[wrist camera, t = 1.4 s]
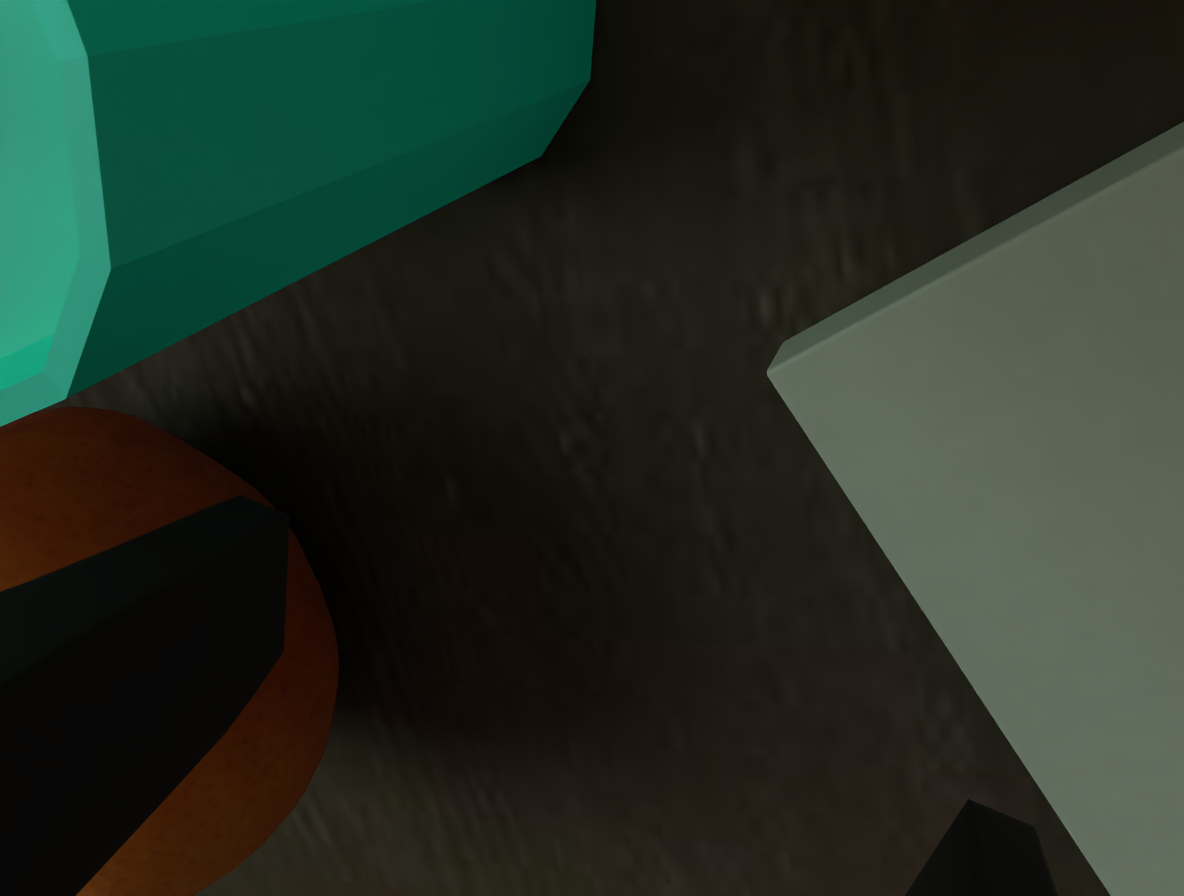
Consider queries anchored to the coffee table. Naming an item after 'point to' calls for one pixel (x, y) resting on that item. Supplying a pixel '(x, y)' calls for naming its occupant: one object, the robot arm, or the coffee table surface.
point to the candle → (240, 154)
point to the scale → (1038, 485)
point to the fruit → (123, 512)
